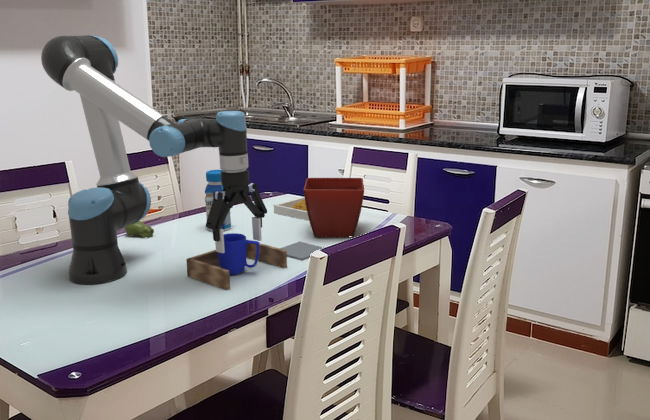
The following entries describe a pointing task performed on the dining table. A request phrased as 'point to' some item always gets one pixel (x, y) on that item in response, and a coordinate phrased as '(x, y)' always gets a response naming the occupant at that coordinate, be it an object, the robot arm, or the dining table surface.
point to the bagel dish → (291, 209)
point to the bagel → (300, 205)
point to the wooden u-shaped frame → (211, 273)
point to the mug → (236, 253)
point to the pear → (139, 229)
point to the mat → (300, 250)
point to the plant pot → (334, 205)
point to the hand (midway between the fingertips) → (239, 246)
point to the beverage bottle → (213, 185)
